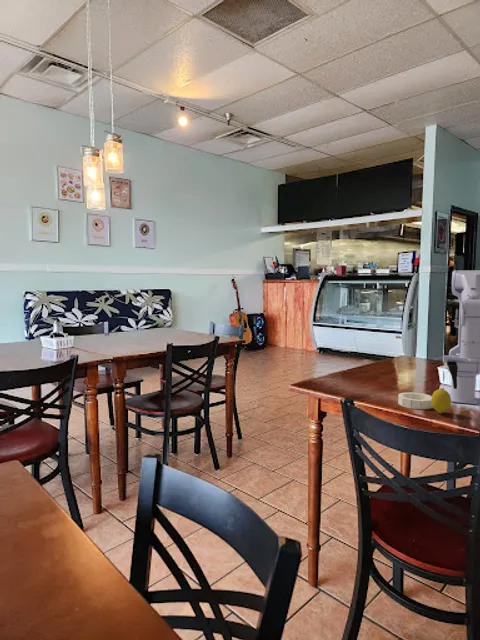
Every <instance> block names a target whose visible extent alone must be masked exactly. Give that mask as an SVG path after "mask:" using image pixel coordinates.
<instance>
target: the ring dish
mask: <svg viewBox="0 0 480 640" xmlns="http://www.w3.org/2000/svg"><path fill="white" fill-rule="evenodd" d="M397 399H398V400H397V401H398V402H397V404H398V405H399V406H401V407H404V408H406V409H411V410H412V409H413V410H430V409H434V408H433V406H432V403H431V399H432V395H430V394H427V393H422V392H421V393H420V392H412V391H411V392H410V391H409V392H401V393H398V394H397Z"/></svg>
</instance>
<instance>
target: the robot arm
mask: <svg viewBox="0 0 480 640" xmlns="http://www.w3.org/2000/svg"><path fill="white" fill-rule="evenodd" d="M451 275H452V276H451V293H452V295H453V296H455V297H457V300H458V301H459V310H458V335H457V336H458V338H457V339H458V340H457V345H455V346H454V347H452V348H450V349H449V350H448V351H449V352H448V355H446V354H444V355H442V362H443V364H446V365H447V371H448V372H449V373H450V376H451V384H450V385H451V386H450V387H451V389H450V393H449V395H450V397H451V403H458V404H459V403H461V404H470V405H471V404H473V405H478V401H477V399H476V377H477V376H478V375H480V270H479V269H478V270H475V269H474V270H473V269H472V270H468V269H467V270H466V269H465V270H460V269H459V270H456V269H453V271H452V273H451Z"/></svg>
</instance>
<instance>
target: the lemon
mask: <svg viewBox="0 0 480 640" xmlns="http://www.w3.org/2000/svg"><path fill="white" fill-rule="evenodd" d="M449 394H450V393H449V392H448V391H447V390H445V389H444V388H443V387H442V388H441V387H440V388H439V389H436V390H434V392H433V393H432V395H431V396H432V399H431V403H432V406H433V408H432V409H434V411H436V412H438V413H439V414H441V415H442V414H443V413H444V412H445V413H446V412H448V411H449V409H450V408H451V405H452V402H451V397H450V395H449Z"/></svg>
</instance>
